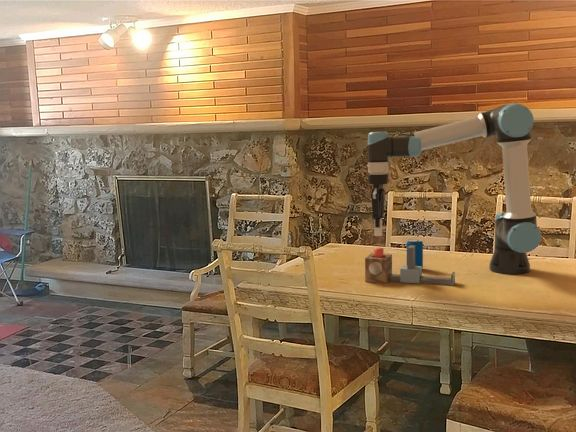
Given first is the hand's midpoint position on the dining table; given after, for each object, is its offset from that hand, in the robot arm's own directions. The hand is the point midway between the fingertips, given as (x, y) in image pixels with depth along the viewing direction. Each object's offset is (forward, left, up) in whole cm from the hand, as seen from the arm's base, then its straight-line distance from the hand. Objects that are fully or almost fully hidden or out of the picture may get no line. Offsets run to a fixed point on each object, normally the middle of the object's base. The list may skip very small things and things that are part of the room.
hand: (378, 235), depth 233 cm
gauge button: (0, 0, -11) cm, 11 cm away
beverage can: (-10, -20, -17) cm, 28 cm away
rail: (-16, 0, -17) cm, 23 cm away
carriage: (-12, 0, -17) cm, 21 cm away
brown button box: (0, 0, -17) cm, 17 cm away
